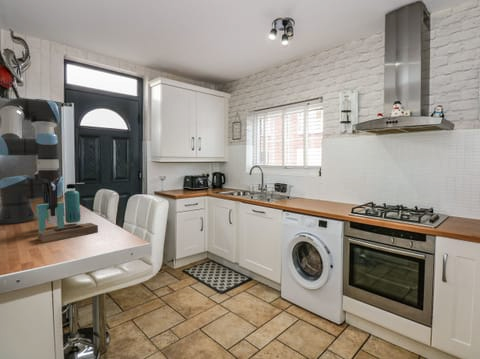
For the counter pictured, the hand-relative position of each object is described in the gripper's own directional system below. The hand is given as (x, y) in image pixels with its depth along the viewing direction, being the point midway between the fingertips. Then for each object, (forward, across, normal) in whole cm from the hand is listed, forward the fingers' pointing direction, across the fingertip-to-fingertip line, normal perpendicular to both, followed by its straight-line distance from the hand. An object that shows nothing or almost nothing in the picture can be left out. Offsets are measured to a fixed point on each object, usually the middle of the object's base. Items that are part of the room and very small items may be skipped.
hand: (51, 222), depth 119 cm
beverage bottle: (+5, -8, +11) cm, 14 cm away
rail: (+4, +12, +3) cm, 13 cm away
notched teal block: (+4, 0, 0) cm, 4 cm away
